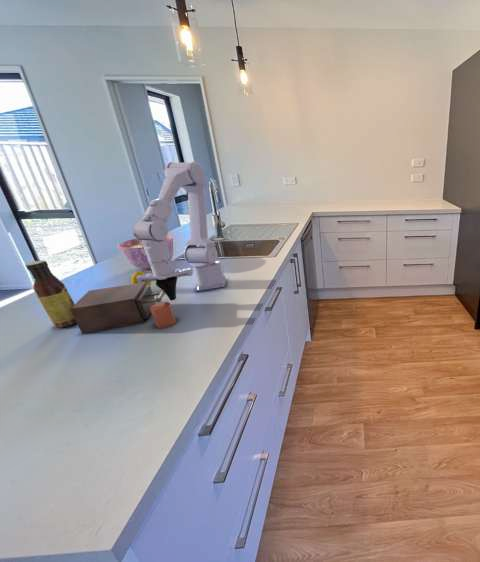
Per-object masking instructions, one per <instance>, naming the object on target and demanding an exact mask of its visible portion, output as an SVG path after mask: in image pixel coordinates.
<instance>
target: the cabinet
mask: <svg viewBox="0 0 480 562" xmlns="http://www.w3.org/2000/svg"><path fill="white" fill-rule="evenodd" d="M145 286H146V284H145V282H144V283H139V284H138V283H137V284H132V283H131V284H123V285H118V286H110V287H103V288H98V289H89V290H88V291H87V292H86V293H85V294H84V295H83V296H82V297H81V298H80V299H79V300H78V301H76V303H74V304H75V305H74V306H72V307H71V308H70V310H71V312H72V314H73V316H74V318H75V320H76V322H77V323H76V324H77V326H78V328H79V330H80V333H81V335H83V334H88V333H89V334H90V333H94V332H101V331H106V330H111V329H116V328H121V327H127V326H131V325H136V324H142V323H144V322H145V320H146V318H145V319H143V318H142V316H141V313H140V311H139V308H138V306H137V303H136V298H137V297H138V295H139V294H140V292H142V290H143V289H144V287H145Z"/></svg>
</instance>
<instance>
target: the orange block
mask: <svg viewBox="0 0 480 562" xmlns="http://www.w3.org/2000/svg"><path fill="white" fill-rule="evenodd" d="M150 310H151V312H150V314H151V316H152V318H153V321H154V323H155V326H156V328H159V329H164V328H168V327H170V326H173V325H174V324H175V323H176V322H177V320H176V319H177V318H176V317H175V313H174V312H173V311H174V310H173V308H172V305H171V303H170V302H169V301H161V302H156V303H155V304H154V305H153V306H151V307H150Z"/></svg>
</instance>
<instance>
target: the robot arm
mask: <svg viewBox="0 0 480 562" xmlns="http://www.w3.org/2000/svg"><path fill="white" fill-rule="evenodd" d="M163 174H164V176H165V178H164V181H163V183H162V187H161V189H160V192H159V195H158V197H157V198H156V199H152V200H151V201H149V203H148V207H147V209H146V211H145V213H144V215H143V217H142V219H141V220H140V221H137V222H136V223H135V225H134V226H133V232H132V235H133V237H134V239H135V238H136V239H138V240H139V241H140V243H141V245H142V246H143V247H144V249H145V252H146V255H147V258H148V260H149V263H150V266H151V269H150V270H151V271H152V272H150V273H146V274H145V275H139V276H138V277H137V278H136V279H137V281H138V284H139V283H143V282H148V281H151V282H155V286H157V287H158V288H159V289H161V291H164V292H165V296H167V297H168V299H169V301H175V300H176V299H177V291H176V289H177V282H178V278H180V277H187V276H188V277H192V276H193V272H194V276H195V279H196V283H197V286H196V289H195V290H196V292H200V291H207V290H212V289H218V288H224V287H225V286H226V275H225V273H224V269H223V265H222V262H221V261H217V260H218V257H219V254H218V250H217V247H216V243H215V242H214V241H212V240H211V239H210V238H209V236H208V235H209V234H208V233H209V232H208V217H207V198H206V188H207V187H206V171H205V170H204V168H203V167H202V166H201V165H200V164H199V162H196V161H192V162H173V161H171V162H167V164H166V165H165V169H164V170H163ZM180 189H183V190H185V191H186V193H187V197H188V199H187V201H188V215H189V217H188V218H189V231H190V233H189V234H190V238H189V239H188V240H186V242H184V251H183V258H184V260H185V261H186V262H187V263H189V265H190V266H192V268H191V267H189V268H175V265H174V263H173V259H172V258H171V256H170V253H169V250H168V247H167V244H166V241H165V238H166V236H167V235H168V236H169V230H168V222H169V219H170V217H171V215H172V213H173V212H174V211H173V210H174V208H173V206H172V203H173V201H174V200H175V198H176V196H177V194H178V192H179V191H180ZM192 269H193V270H192Z"/></svg>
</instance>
